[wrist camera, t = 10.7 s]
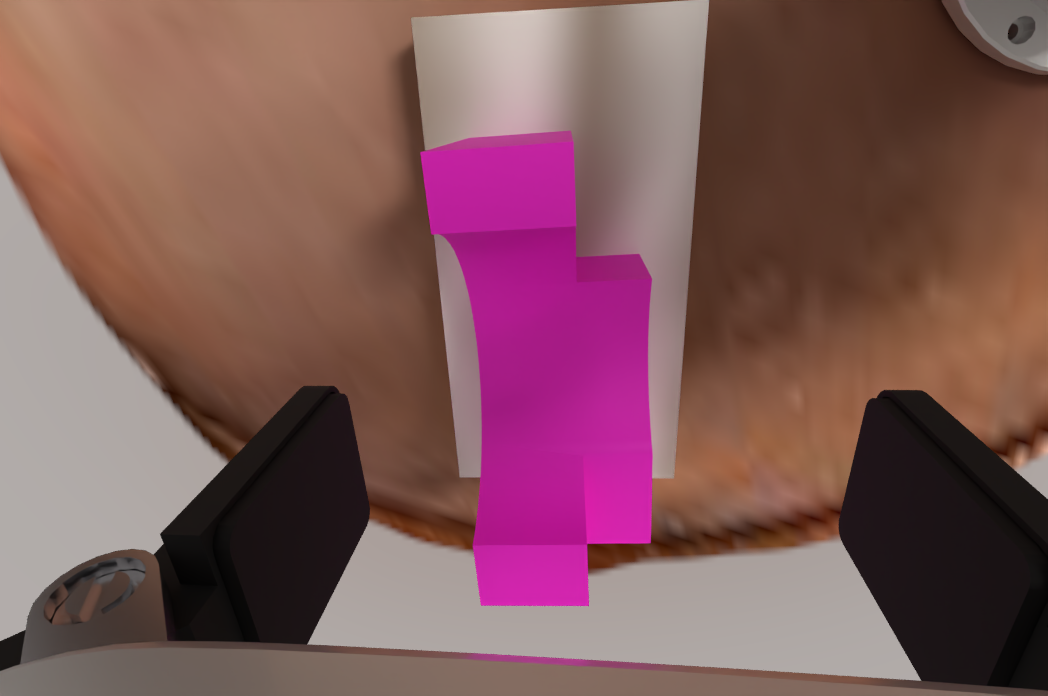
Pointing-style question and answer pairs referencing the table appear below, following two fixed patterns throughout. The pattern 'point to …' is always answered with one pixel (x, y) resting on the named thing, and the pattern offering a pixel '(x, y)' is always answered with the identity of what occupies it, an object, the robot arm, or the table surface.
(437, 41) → the plinth
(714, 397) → the table surface
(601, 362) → the toy block
